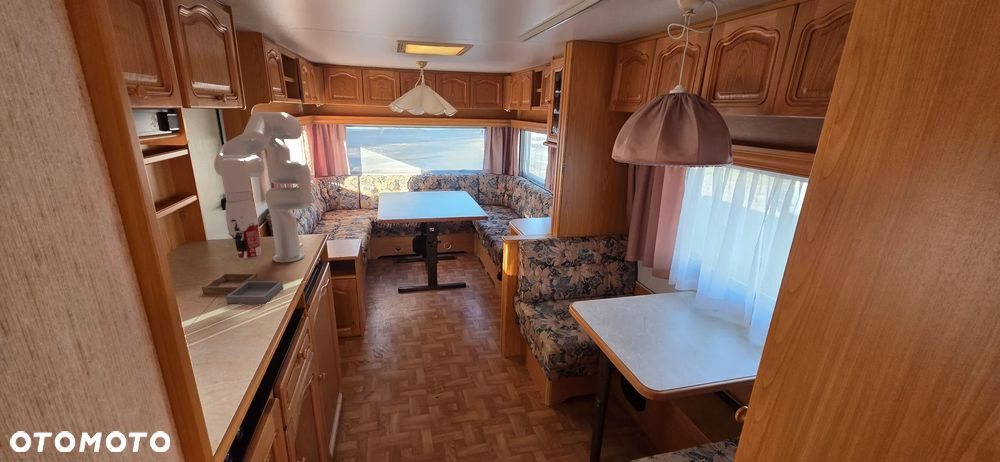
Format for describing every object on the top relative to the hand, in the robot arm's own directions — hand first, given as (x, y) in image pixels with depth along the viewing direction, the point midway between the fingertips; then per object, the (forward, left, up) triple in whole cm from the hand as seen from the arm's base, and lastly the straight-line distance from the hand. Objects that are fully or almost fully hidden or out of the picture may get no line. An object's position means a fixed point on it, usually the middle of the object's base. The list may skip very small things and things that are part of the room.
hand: (248, 247), depth 138 cm
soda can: (0, 0, -4) cm, 4 cm away
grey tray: (0, 0, -18) cm, 18 cm away
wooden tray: (-8, -13, -18) cm, 24 cm away
